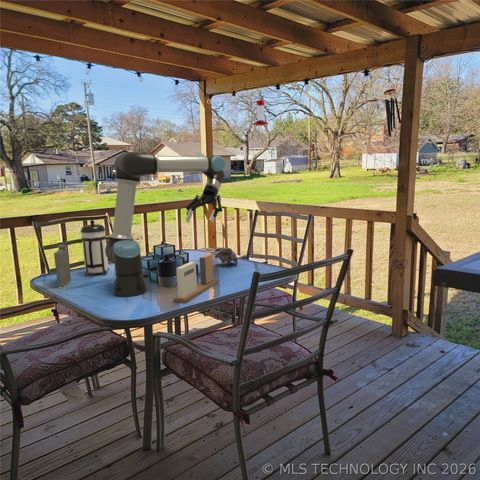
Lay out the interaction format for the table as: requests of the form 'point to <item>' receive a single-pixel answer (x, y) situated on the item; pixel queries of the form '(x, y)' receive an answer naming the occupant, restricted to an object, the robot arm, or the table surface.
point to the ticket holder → (189, 283)
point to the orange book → (206, 269)
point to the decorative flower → (226, 255)
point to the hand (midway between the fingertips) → (198, 221)
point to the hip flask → (62, 266)
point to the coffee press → (94, 248)
